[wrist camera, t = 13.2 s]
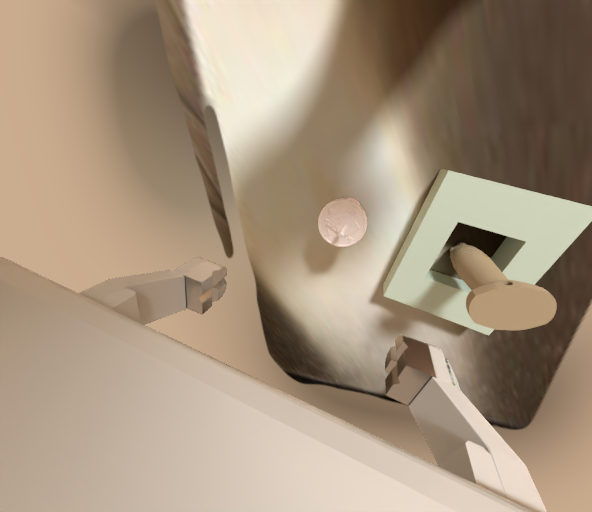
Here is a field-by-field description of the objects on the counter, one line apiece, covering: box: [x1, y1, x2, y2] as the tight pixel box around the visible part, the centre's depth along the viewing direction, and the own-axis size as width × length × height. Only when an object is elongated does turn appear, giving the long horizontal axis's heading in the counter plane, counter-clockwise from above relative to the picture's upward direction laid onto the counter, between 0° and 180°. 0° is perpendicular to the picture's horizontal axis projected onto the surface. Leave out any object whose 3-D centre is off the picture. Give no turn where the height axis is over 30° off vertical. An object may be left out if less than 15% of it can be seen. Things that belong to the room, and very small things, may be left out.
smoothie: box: [318, 198, 367, 247], centre depth 31 cm, size 6×6×14 cm
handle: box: [449, 242, 557, 330], centre depth 28 cm, size 5×6×15 cm
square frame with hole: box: [383, 169, 592, 335], centre depth 32 cm, size 20×16×4 cm
